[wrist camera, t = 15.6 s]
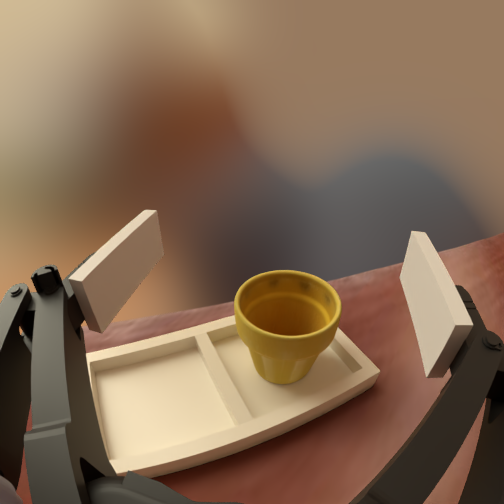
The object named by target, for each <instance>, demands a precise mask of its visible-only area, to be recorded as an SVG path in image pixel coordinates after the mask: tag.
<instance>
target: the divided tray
mask: <svg viewBox="0 0 504 504" xmlns="http://www.w3.org/2000/svg"><path fill="white" fill-rule="evenodd" d="M86 358H87V365H88V371H89V377H90V383H91V389H92V394H93V399H94V404H95V409H96V414H97V418H98V423H99V427H100V431H101V435H102V439H103V443H104V446H105V450H106V454H107V457H108V459H109V462H110V463H111V465H112V467H113V468H114V470H115V472H116V474H117V476H126V474H127V472H128V470H129V471H131V472H134V473H137V474H139V475H142V476H144V477H147V478H153V477H158V476H162V475H166V474H170V473H174V472H177V471H181V470H185V469H188V468H192V467H195V466H198V465H202V464H205V463H208V462H211V461H214V460H217V459H220V458H223V457H226V456H229V455H232V454H234V453H237V452H240V451H243V450H245V449H248V448H250V447H253V446H255V445H258V444H260V443H263V442H265V441H268V440H270V439H272V438H275V437H277V436H279V435H282V434H284V433H286V432H288V431H290V430H293V429H295V428H297V427H299V426H301V425H303V424H305V423H307V422H309V421H311V420H313V419H315V418H317V417H319V416H321V415H323V414H325V413H327V412H329V411H331V410H333V409H335V408H336V407H338V406H340V405H342V404H344V403H345V402H347V401H349V400H351V399H353V398H354V397H356V396H358V395H359V394H361V393H363V392H364V391H366V390H368V389H369V388H371V387H373V385H374V383H375V381H376V379H377V377H378V375H379V373H380V370H379V369H378V368H377V367H376V366H375V365H374V364H373V363H372V362H371V361H370V360H369V359H368V358H367V357H366V356H365V355H364V354H363V352H362V351H361V350H360V349H359V348H358V347H357V346H356V345H355V344H354V343H353V342H352V341H351V340H350V339H349V338H348V337H347V336H346V335H345V334H344V333H343V332H342V331H341V330H340V329H339V328H337V331H336V334H335V337H334V339H333V341H332V342H331V344H330V345H329V346H328V347H327V348H326V349H325V350H324V351H323V352H321V353H320V354H319V356H318V357H317V359H316V360H315V362H314V364H313V365H312V367H311V369H310V370H309V372H308V373H307V374H306V375H305V376H304V377H303V378H302V379H300V380H299V381H296V382H294V383H290V384H276V383H272V382H269V381H267V380H265V379H263V378H262V377H261V376H260V375H259V374H258V372H257V371H256V369H255V367H254V364H253V361H252V358H251V355H250V352H249V349H248V347H247V346H246V345H245V344H244V342H243V341H242V340H241V338H240V336H239V334H238V332H237V328H236V322H235V315H233V316H230V317H227V318H223V319H220V320H216V321H213V322H209V323H206V324H202V325H199V326H195V327H191V328H188V329H184V330H180V331H177V332H173V333H169V334H165V335H162V336H158V337H154V338H150V339H146V340H142V341H138V342H134V343H130V344H126V345H122V346H117V347H113V348H109V349H105V350H100V351H96V352H91V353H87V354H86Z"/></svg>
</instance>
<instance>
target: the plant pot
mask: <svg viewBox="0 0 504 504" xmlns="http://www.w3.org/2000/svg"><path fill="white" fill-rule="evenodd" d="M234 310H235V322H236V328H237V332H238V334H239V336H240V338H241V340H242V341H243V342H244V344H245V345H246V346H247V347H248V349H249V352H250V355H251V358H252V361H253V364H254V367H255V369H256V371H257V372H258V374H259V375H260V376H261V377H262V378H263V379H265V380H267V381H269V382H272V383H276V384H290V383H294V382H296V381H299V380H300V379H302V378H303V377H304V376H305V375H306V374H307V373H308V372H309V370H310V369H311V367H312V365H313V364H314V362H315V360H316V359H317V357H318V356H319V354H320V353H321V352H323V351H324V350H325V349H326V348H327V347H328V346H329V345H330V344H331V342H332V341H333V339H334V337H335V334H336V331H337V328H338V325H339V321H340V317H341V312H342V304H341V300H340V298H339V296H338V294H337V292H336V291H335V290H334V288H333V287H332V286H331V285H329V284H328V283H327V282H325V281H324V280H322V279H320V278H318V277H316V276H314V275H311V274H307V273H304V272H299V271H292V270H278V271H270V272H266V273H262V274H259V275H256V276H254V277H252V278H250V279H249V280H248V281H246V282H245V283H244V284H243V285H242V286H241V287H240V288H239V290H238V292H237V294H236V296H235V301H234Z"/></svg>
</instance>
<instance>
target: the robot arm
mask: <svg viewBox="0 0 504 504" xmlns="http://www.w3.org/2000/svg"><path fill="white" fill-rule="evenodd" d="M163 255H164V251H163V246H162V240H161V234H160V228H159V222H158V215H157V211H156V210H144V211H143V212H142V213H140V214H139V215H138V216H137V217H136V218H135V219H133V220H132V221H131V222H130V223H129V224H127V225H126V226H125V227H124V228H123V229H122V230H121V231H119V232H118V233H117V234H116V235H115V236H114V237H112V239H110V240H109V241H108V242H107V243H106V244H105V245H104V246H103V247H101V248H100V249H99V250H98V251H97V252H95V253H93V254H91V255H89V256H88V257H87V258H86V259H85V260H84V261H83V263H81V264H80V265H79V266H78V268H75V269H74V270H73V271H72V272H71V273H70V274H69V275H68V276H67V277H66V278H65V279H64V280H63V281H62V280H61V277H60V274H59V272H58V269H57V267H56V266H55V265H46V266H43V267H41V268H39V269H37V270H36V271H35V272H34V273H33V274H32V276H31V279H32V281H33V283H34V286H35V288H36V291H37V292H33V293H32V292H31V293H30V291H29V289H28V286H27V285H26V284H24V283H23V284H22V283H20V284H16V285H15V286H12V287H11V288H10V289H9V290H8V291H7V293H6V294H5V296H4V298H3V300H2V302H1V303H0V504H23V501H22V499H21V498H20V497H19V496H18V495H16V490H17V486H18V482H19V478H20V473H21V465H22V457H23V448H24V450H25V459H26V468H27V475H28V481H29V487H30V493H31V498H32V503H33V504H242V503H237V502H195V501H192V500H190V499H188V498H186V497H184V496H183V495H181V494H179V493H177V492H176V491H174V490H172V489H171V488H169V487H167V486H166V485H164V484H162V483H161V482H158V481H155V480H153V479H150V478H147V477H144V476H142V475H139V474H137V473H134V472H131V471H129V470H128V472H127V474H126V476H117V474H116V472H115V470H114V468H113V467H112V465H111V463H110V462H109V459H108V457H107V454H106V450H105V446H104V443H103V439H102V435H101V431H100V427H99V423H98V418H97V414H96V409H95V404H94V399H93V394H92V389H91V383H90V377H89V371H88V365H87V358H86V350H85V342H84V333H83V329H82V327H81V324H82V323H83V321H84V320H85V321H86V323H87V325H88V328H89V330H92V331H95V332H99V333H103V332H104V331H105V329H106V328H107V327H108V325H109V324H110V323H111V321H112V320H113V318H114V317H115V316H116V315H117V313H118V312H119V311H120V309H121V308H122V307H123V305H124V304H125V303H126V302H127V300H128V299H129V298H130V296H131V295H132V294H133V293H134V291H135V290H136V289H137V287H138V286H139V285H140V284H141V282H142V281H143V280H144V279H145V277H146V276H147V275H148V274H149V272H150V271H151V270H152V269H153V267H154V266H155V265H156V264H157V263H158V261H159V260H160V259H161V258H162V256H163ZM400 280H401V283H402V286H403V290H404V293H405V296H406V299H407V303H408V306H409V310H410V313H411V317H412V320H413V324H414V328H415V332H416V335H417V339H418V343H419V347H420V352H421V356H422V360H423V365H424V369H425V374H426V378H441V377H444V375H445V373H446V372H447V370H448V369H449V367H450V371H451V375H452V376H451V377H450V379H449V380H448V382H447V383H446V385H445V386H444V388H443V389H442V390H441V392H440V395H439V396H438V398H437V399H436V401H435V402H434V404H433V405H432V407H431V408H430V410H429V411H428V412H427V414H426V415H425V417H424V418H423V419H422V421H421V422H420V424H419V425H418V426H417V428H416V429H415V430H414V432H413V433H412V434H411V436H410V437H409V438H408V439H407V441H406V442H405V443H404V444H403V446H402V447H401V448H400V449H399V451H398V452H397V453H396V454H395V455H394V456H393V458H392V459H391V460H390V461H389V462H388V463H387V465H386V466H385V467H384V468H383V469H382V470H381V471H380V472H379V473H378V475H377V476H376V477H375V478H374V479H373V480H372V481H371V482H370V483H369V484H368V485H367V486H366V487H365V488H364V489H363V490H362V491H361V492H360V493H359V494H358V495H357V496H356V497H355V498H354V499H353V500H352V501H351V502H350V503H349V504H423V503H424V501H425V500H426V499H427V497H428V496H429V495H430V493H431V492H432V490H433V489H434V488H435V486H436V485H437V483H438V482H439V480H440V479H441V477H442V476H443V475H444V473H445V471H446V470H447V468H448V467H449V465H450V464H451V462H452V460H453V459H454V457H455V456H456V454H457V452H458V451H459V449H460V447H461V445H462V444H463V442H464V440H465V438H466V436H467V435H468V433H469V431H470V429H471V427H472V425H473V423H474V421H475V419H476V417H477V415H478V413H479V411H480V409H481V407H482V405H483V403H484V400H485V398H487V399H486V405H485V411H484V416H483V421H482V426H481V430H480V435H479V439H478V443H477V447H476V451H475V454H474V458H473V461H472V465H471V468H470V471H469V474H468V477H467V481H466V483H465V486H464V489H463V492H462V495H461V497H460V500H459V503H458V504H504V344H503V341H502V340H501V339H500V337H499V336H498V335H496V334H495V333H493V332H491V331H488V330H487V329H486V327H485V325H484V323H483V321H482V319H481V316H480V314H479V312H478V310H476V306H475V304H474V303H473V300H472V298H471V296H470V295H469V293H468V292H467V291H466V290H465V289H464V288H463V287H462V286H459V285H454V283H453V281H452V279H451V277H450V275H449V273H448V272H447V270H446V268H445V266H444V264H443V262H442V260H441V259H440V257H439V255H438V253H437V252H436V250H435V248H434V247H433V245H432V243H431V241H430V240H429V238H428V236H427V235H426V233H424V232H417V231H412V232H411V236H410V240H409V244H408V248H407V252H406V256H405V260H404V264H403V267H402V271H401V274H400ZM19 326H20V327H21V329H22V330H23V332H22V334H21V335H20V332H19ZM30 404H31V407H32V425H33V426H32V430H31V431H27V432H26V426H27V420H28V415H29V409H30Z"/></svg>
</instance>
